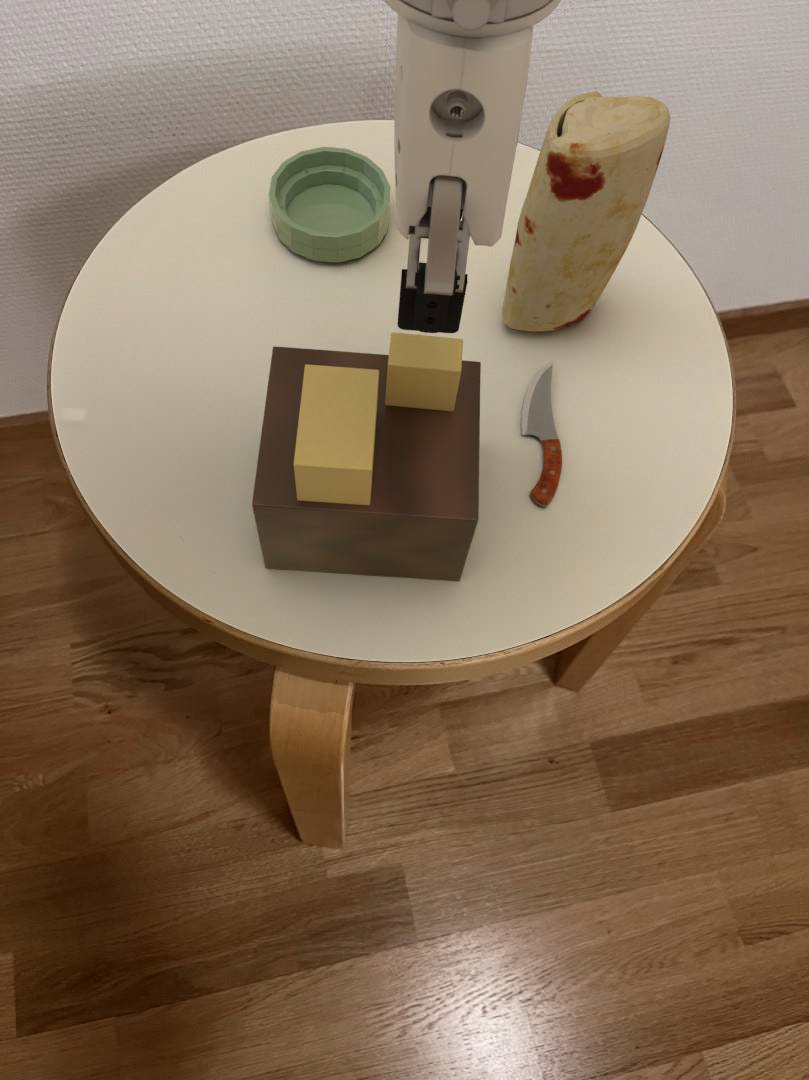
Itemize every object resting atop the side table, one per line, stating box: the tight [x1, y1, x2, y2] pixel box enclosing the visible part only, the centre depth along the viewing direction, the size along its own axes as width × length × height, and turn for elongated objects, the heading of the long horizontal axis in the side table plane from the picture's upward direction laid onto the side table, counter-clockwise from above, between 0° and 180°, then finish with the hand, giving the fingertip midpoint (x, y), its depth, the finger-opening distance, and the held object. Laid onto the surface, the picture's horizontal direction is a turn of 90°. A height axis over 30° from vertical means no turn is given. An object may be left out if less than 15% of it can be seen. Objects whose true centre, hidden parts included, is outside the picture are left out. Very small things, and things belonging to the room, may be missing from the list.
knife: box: [521, 360, 563, 508], centre depth 70 cm, size 13×1×3 cm
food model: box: [501, 90, 671, 332], centre depth 66 cm, size 10×7×20 cm
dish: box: [268, 146, 391, 263], centre depth 77 cm, size 10×10×4 cm
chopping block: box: [251, 345, 482, 582], centre depth 62 cm, size 14×12×10 cm
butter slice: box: [385, 331, 464, 411], centre depth 57 cm, size 4×2×4 cm, turn 86°
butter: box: [294, 365, 379, 505], centre depth 55 cm, size 4×7×4 cm, turn 177°
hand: (430, 268), depth 49 cm, fingers open, 7 cm apart
